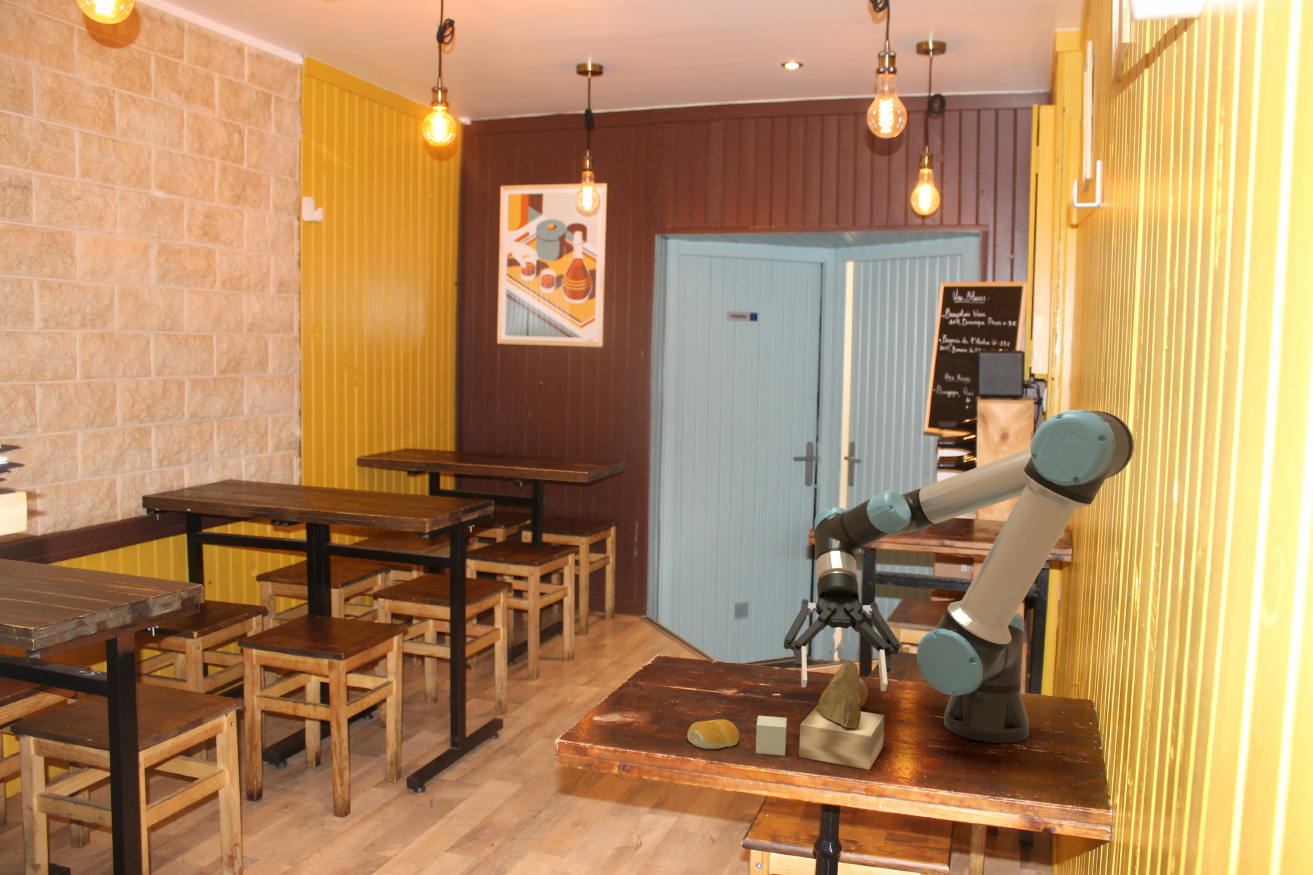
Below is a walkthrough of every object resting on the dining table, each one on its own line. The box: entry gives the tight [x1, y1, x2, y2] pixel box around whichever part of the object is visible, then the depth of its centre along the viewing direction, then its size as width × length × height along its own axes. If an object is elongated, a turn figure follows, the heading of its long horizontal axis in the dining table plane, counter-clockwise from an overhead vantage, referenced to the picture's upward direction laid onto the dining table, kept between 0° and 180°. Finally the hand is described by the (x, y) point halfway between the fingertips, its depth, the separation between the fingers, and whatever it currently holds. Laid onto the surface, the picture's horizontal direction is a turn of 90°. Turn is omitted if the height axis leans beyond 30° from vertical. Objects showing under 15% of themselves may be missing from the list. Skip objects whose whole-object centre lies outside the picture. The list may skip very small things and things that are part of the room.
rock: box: [814, 659, 862, 729], centre depth 168 cm, size 11×9×10 cm
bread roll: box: [687, 718, 740, 750], centre depth 172 cm, size 8×9×4 cm
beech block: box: [798, 705, 885, 771], centre depth 169 cm, size 12×12×6 cm
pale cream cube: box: [755, 715, 788, 756], centre depth 169 cm, size 5×5×5 cm
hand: (844, 685), depth 166 cm, fingers open, 13 cm apart
